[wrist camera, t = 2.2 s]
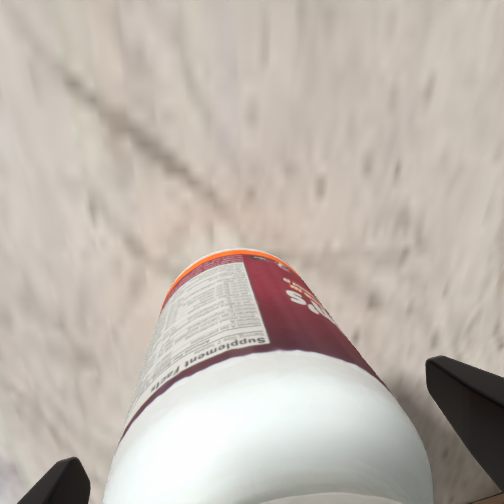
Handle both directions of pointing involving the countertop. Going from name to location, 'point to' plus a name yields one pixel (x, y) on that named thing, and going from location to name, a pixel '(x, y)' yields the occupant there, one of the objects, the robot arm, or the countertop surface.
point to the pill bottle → (260, 401)
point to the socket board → (492, 500)
